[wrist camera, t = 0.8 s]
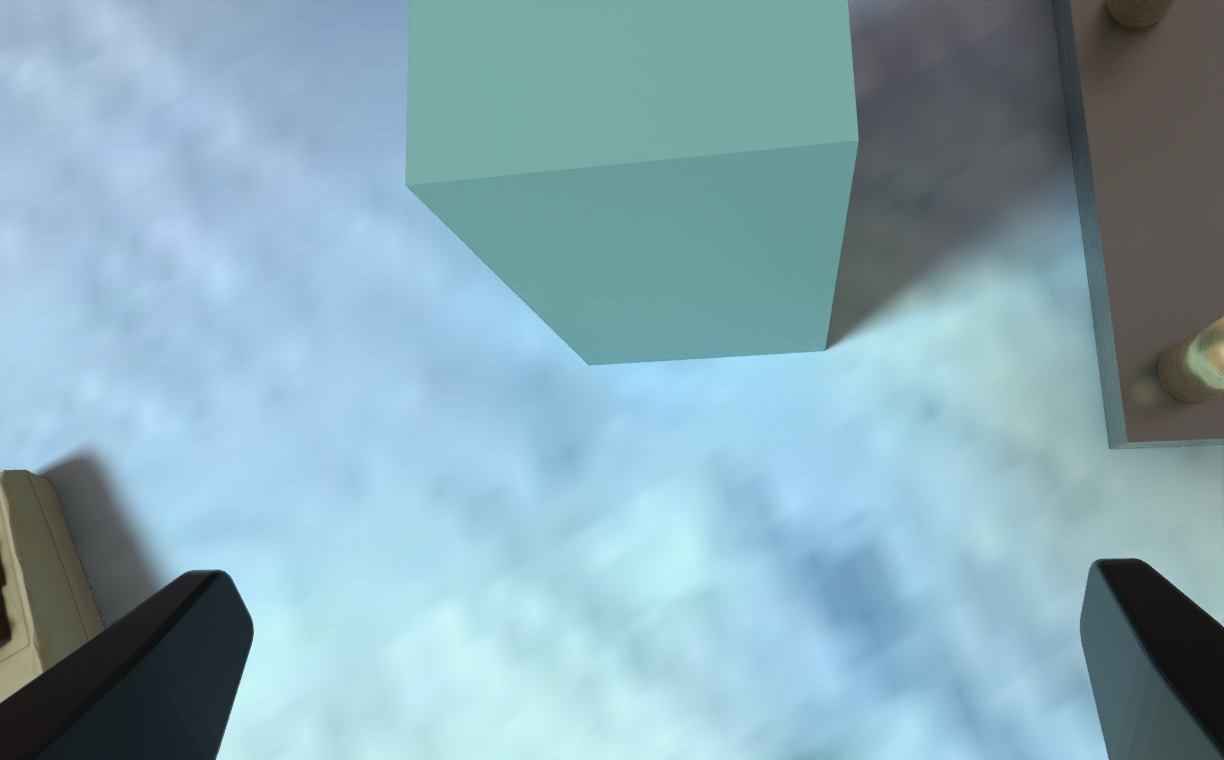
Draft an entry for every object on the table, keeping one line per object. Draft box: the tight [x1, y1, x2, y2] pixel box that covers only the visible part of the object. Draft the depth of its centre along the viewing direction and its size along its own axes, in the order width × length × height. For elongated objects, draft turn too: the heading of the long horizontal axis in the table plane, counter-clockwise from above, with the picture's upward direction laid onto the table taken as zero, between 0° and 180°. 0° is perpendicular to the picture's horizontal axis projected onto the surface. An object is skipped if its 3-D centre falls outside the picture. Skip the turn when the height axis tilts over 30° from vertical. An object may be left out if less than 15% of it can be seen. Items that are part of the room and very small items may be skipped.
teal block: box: [406, 0, 859, 365], centre depth 19 cm, size 6×6×12 cm
